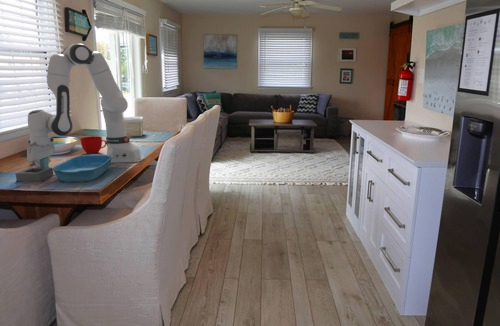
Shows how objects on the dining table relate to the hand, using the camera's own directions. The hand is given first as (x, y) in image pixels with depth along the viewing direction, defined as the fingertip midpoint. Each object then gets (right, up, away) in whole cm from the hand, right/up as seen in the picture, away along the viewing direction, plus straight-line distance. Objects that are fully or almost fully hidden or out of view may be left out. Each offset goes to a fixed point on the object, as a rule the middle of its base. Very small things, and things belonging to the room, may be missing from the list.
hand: (42, 166), depth 217 cm
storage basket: (+13, +24, +112) cm, 115 cm away
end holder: (+3, -6, -13) cm, 15 cm away
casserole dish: (+25, -5, -6) cm, 27 cm away
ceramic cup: (+11, +8, +45) cm, 47 cm away
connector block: (0, -3, +1) cm, 3 cm away
